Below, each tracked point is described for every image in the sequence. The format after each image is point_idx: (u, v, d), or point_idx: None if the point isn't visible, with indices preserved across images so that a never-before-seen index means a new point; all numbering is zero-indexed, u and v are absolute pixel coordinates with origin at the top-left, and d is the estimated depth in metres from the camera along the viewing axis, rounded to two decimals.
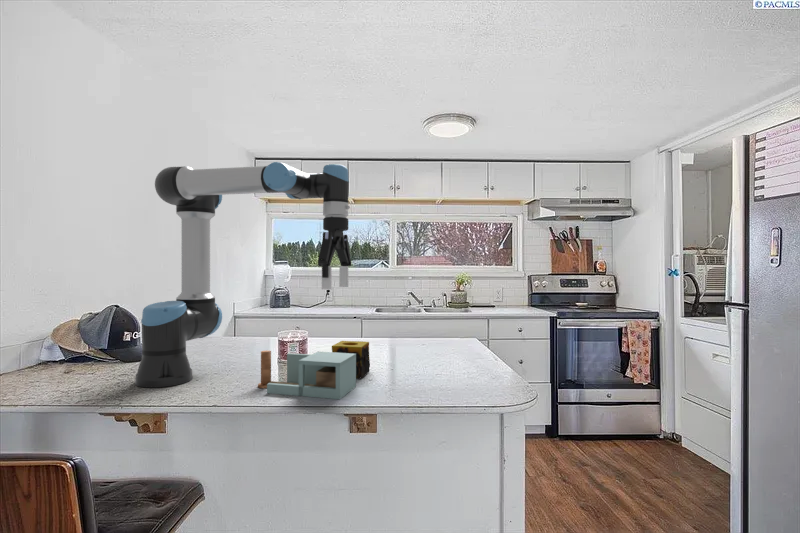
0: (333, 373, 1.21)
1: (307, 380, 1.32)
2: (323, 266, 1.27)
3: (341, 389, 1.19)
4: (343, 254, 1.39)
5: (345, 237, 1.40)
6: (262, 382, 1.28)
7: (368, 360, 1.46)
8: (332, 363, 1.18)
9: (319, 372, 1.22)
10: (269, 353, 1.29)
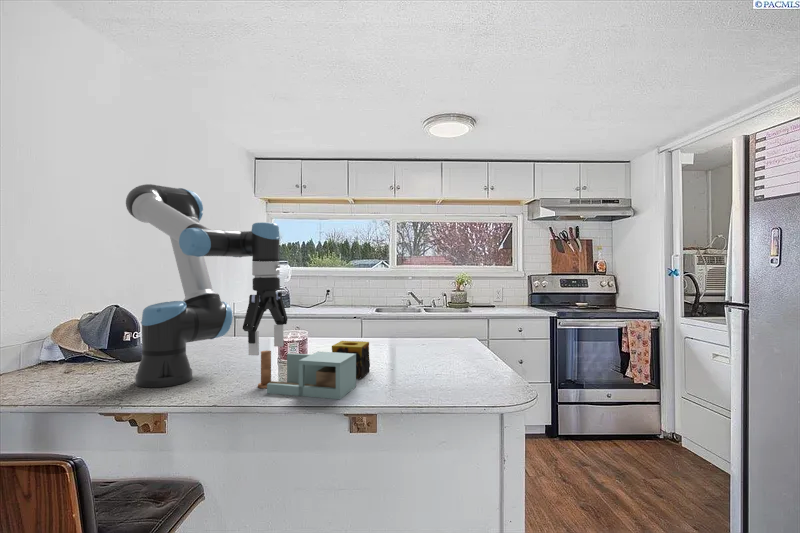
0: (333, 373, 1.21)
1: (307, 380, 1.32)
2: (249, 331, 1.21)
3: (341, 389, 1.19)
4: (276, 313, 1.33)
5: (279, 295, 1.35)
6: (262, 382, 1.28)
7: (368, 360, 1.46)
8: (332, 363, 1.18)
9: (319, 372, 1.22)
10: (269, 353, 1.29)
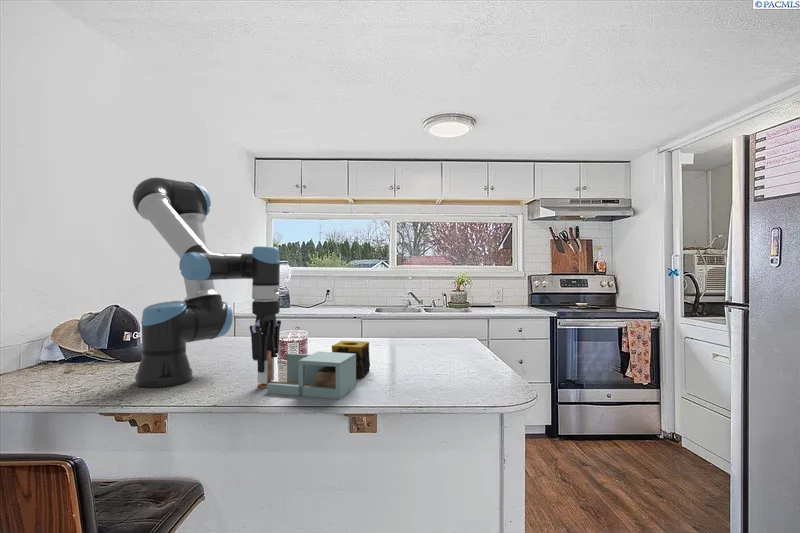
0: (333, 373, 1.21)
1: (307, 380, 1.32)
2: (258, 361, 1.26)
3: (341, 389, 1.19)
4: (271, 340, 1.31)
5: (278, 322, 1.34)
6: None
7: (368, 360, 1.46)
8: (332, 363, 1.18)
9: (319, 372, 1.22)
10: (269, 353, 1.29)
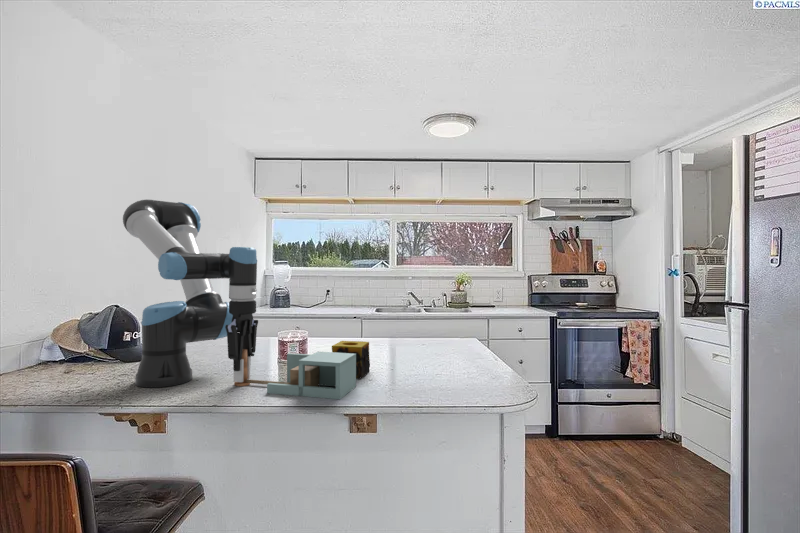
0: (307, 371, 1.23)
1: None
2: (234, 360, 1.28)
3: (341, 389, 1.19)
4: (247, 340, 1.33)
5: (255, 322, 1.36)
6: None
7: (368, 360, 1.46)
8: (332, 363, 1.18)
9: (293, 370, 1.24)
10: (245, 352, 1.31)
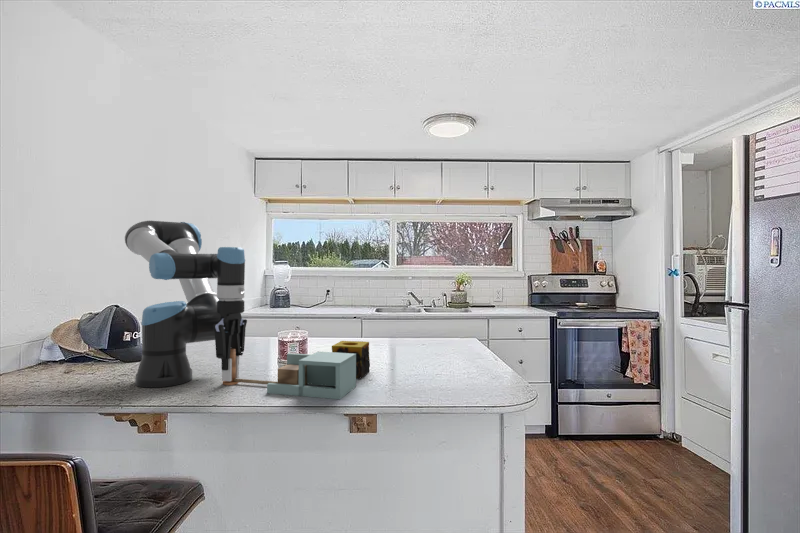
0: (294, 370, 1.24)
1: (307, 380, 1.32)
2: (222, 359, 1.29)
3: (341, 389, 1.19)
4: (235, 339, 1.34)
5: (244, 321, 1.37)
6: None
7: (368, 360, 1.46)
8: (332, 363, 1.18)
9: (280, 369, 1.25)
10: (233, 351, 1.32)
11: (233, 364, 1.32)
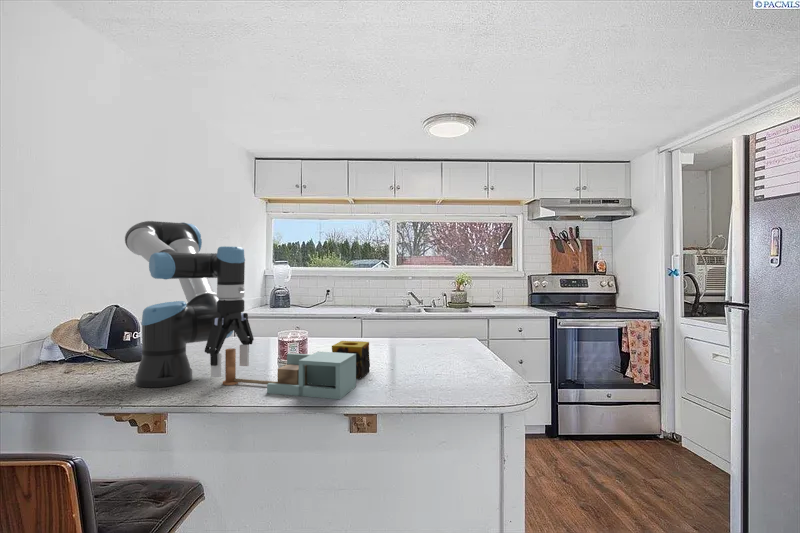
0: (294, 370, 1.24)
1: (307, 380, 1.32)
2: (211, 354, 1.24)
3: (341, 389, 1.19)
4: (241, 334, 1.36)
5: (244, 316, 1.38)
6: (226, 379, 1.31)
7: (368, 360, 1.46)
8: (332, 363, 1.18)
9: (280, 369, 1.25)
10: (233, 351, 1.32)
11: (233, 364, 1.32)
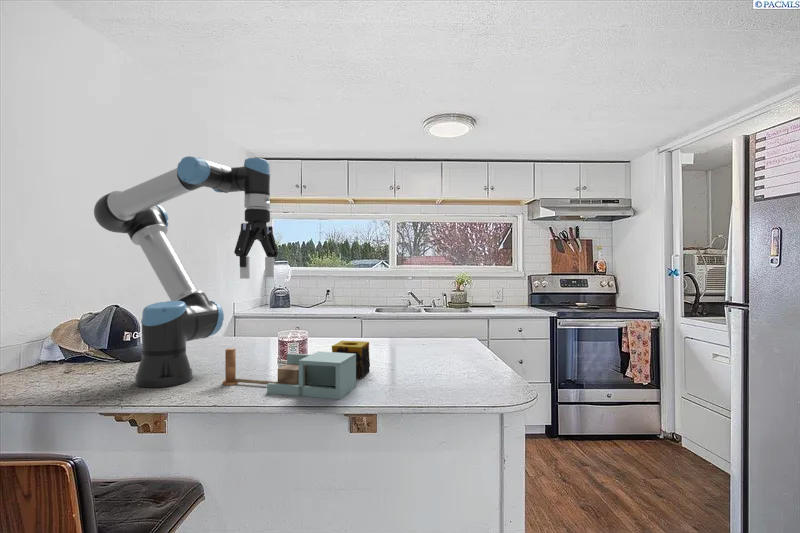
0: (294, 370, 1.24)
1: (307, 380, 1.32)
2: (240, 256, 1.31)
3: (341, 389, 1.19)
4: (267, 245, 1.44)
5: (270, 229, 1.45)
6: (226, 379, 1.31)
7: (368, 360, 1.46)
8: (332, 363, 1.18)
9: (280, 369, 1.25)
10: (233, 351, 1.32)
11: (233, 364, 1.32)
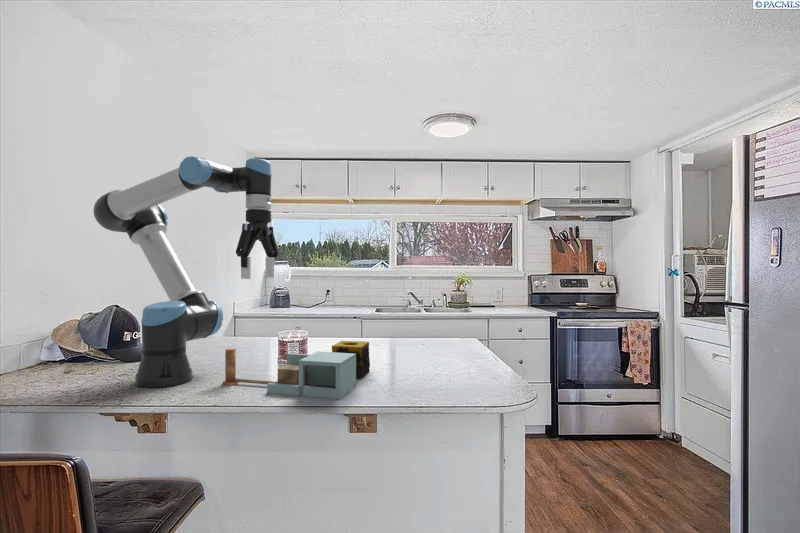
0: (294, 370, 1.24)
1: (307, 380, 1.32)
2: (241, 256, 1.32)
3: (341, 389, 1.19)
4: (268, 245, 1.44)
5: (270, 229, 1.45)
6: (226, 379, 1.31)
7: (368, 360, 1.46)
8: (332, 363, 1.18)
9: (280, 369, 1.25)
10: (233, 351, 1.32)
11: (233, 364, 1.32)
